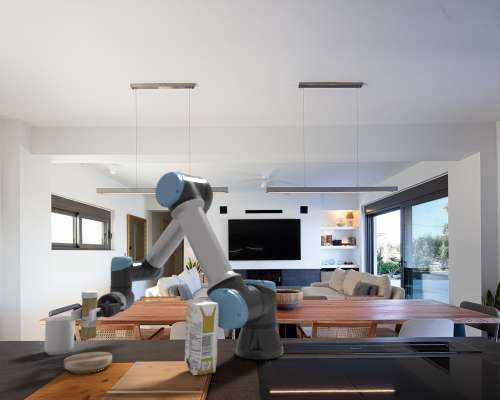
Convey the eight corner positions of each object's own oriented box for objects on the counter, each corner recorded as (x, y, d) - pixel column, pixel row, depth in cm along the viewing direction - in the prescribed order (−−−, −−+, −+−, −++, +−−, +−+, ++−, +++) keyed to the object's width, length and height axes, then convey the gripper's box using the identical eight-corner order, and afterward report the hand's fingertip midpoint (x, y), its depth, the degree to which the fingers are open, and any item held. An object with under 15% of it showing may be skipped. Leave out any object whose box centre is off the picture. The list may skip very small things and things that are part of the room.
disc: (117, 369, 116) (118, 358, 116) (68, 378, 108) (69, 366, 109) (105, 359, 126) (105, 349, 127) (59, 367, 119) (59, 356, 119)
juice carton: (193, 378, 107) (196, 306, 107) (181, 366, 114) (184, 298, 114) (219, 373, 111) (221, 303, 111) (206, 361, 118) (209, 296, 118)
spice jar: (77, 338, 118) (78, 291, 120) (91, 335, 122) (93, 289, 123) (85, 340, 115) (86, 292, 117) (100, 337, 119) (101, 290, 120)
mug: (62, 356, 131) (63, 320, 133) (38, 355, 133) (39, 320, 134) (84, 347, 143) (85, 314, 144) (62, 346, 145) (63, 314, 146)
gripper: (136, 315, 137) (111, 330, 113) (85, 315, 137) (50, 330, 114) (137, 292, 137) (112, 302, 114) (85, 293, 138) (51, 303, 114)
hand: (81, 316), depth 114 cm, fingers closed on spice jar, 4 cm apart
